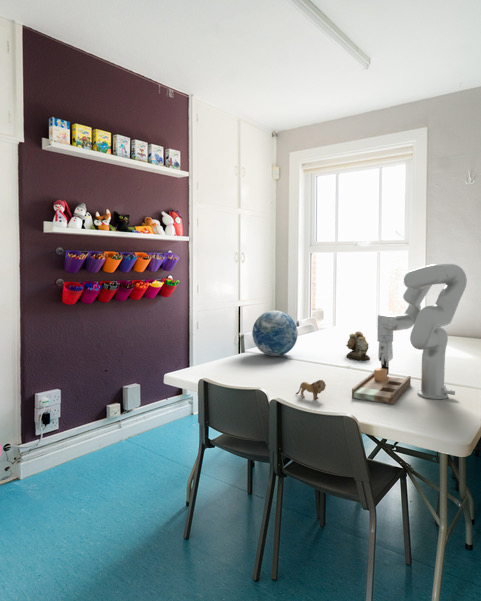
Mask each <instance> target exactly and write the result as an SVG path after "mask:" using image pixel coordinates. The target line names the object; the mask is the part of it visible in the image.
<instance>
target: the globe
mask: <svg viewBox="0 0 481 601" xmlns="http://www.w3.org/2000/svg"><path fill="white" fill-rule="evenodd" d="M298 334H299V332H298V328H297V324H296V322H295V320H294V319H293V318H292V316H290V315H289V314H288V313H287V312H283V311H280V310H268V311H266V312H264V313H262V314H261V315H259V317H258V318H257V319H256V320H255V322H254V324H253V326H252V331H251V335H252V340H253V343H254V344H255V346H256V347H257V349H258V350H259V351H260V352H261V353H263V354H264V355H267V356H271V357H280V356H283V355H286V354H287V353H289V352H290V351H291V350H292V349H293V348H294V347H295V345H296V343H297V339H298Z"/></svg>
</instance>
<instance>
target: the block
mask: <svg viewBox="0 0 481 601" xmlns="http://www.w3.org/2000/svg"><path fill="white" fill-rule="evenodd" d="M373 372H374V380H378V381H386V380H387V377H388V375H387V369H383V368H381V367H376V368H375V369H374V371H373Z"/></svg>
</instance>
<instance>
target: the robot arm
mask: <svg viewBox="0 0 481 601" xmlns="http://www.w3.org/2000/svg"><path fill="white" fill-rule="evenodd" d="M467 281H468V279H467V274H466V272H465V271H464V269H463V268H462V267H461V266H460V265H458V264H456V263H455V264H454V263H436V264H429V265H426V266H422V267H418V268H416V269H412V270H409V271H408V272H406V274H405V275H404V278H403V284H404V286H405V287H406V289H405V291H404V293H403V296H402V298H403V300H404V301H405V302H406V303H407V304H408V306H407V308H406V310H405V311H404V313H402V314H400V313H399V314H394V315H393V314H392V313H380V314H378V315H377V336H376V338H377V342H378V362H380V365H381V366H380V368H383V369H387V376H388V375H389V367H390V366H389V365H390V364H389V363H390V361H392V359H393V358H394V356H393V355H394V352H393V342H394V332H396V331H402V330H408V329H411V328H412V330H411V332H410V337H409V339H410V343H411V346H412V347H413V348H414V349H417V350H422V354H421V376H420V377H421V383H420V384H421V386H420V387H421V389H419V390H418V391H417V395H418V396H419V397H422V398H424V399H428V400H429V399H430V400H445V399H448V397H449V395H450V396H451V395H452V396H455V395H456V390H453V389H452V388H451V389H450V388H447V387H446V385H445V370H446V368H445V365H446V364H445V363H446V351H447V346H448V340H449V339H448V337H449V336H448V332H447V331H446V330H445V329H444V328H443V327H447V326H448V325H451V323H452V321H453V319H454V316H455V313H456V311H457V309H458V306H459V304H460V301H461V298H462V296H463V294H464V292H465V290H466V287H467ZM441 284H443V285H445V286H444V287H443V288H442V289H441V291H440V292H439V294H438V295H437V299H436V302H435V303H434V304H433V305H427V306H425V307H423V308H421V305H422V304H421V303H422V302H423V300H424V298H425V297H426V296H427V294H428V292H429V290H430V289H431V287H432V286H433V285H441Z"/></svg>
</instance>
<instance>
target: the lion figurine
mask: <svg viewBox="0 0 481 601" xmlns="http://www.w3.org/2000/svg"><path fill="white" fill-rule="evenodd" d="M326 386H327V384H326V382H325V380H323V379H319V380H317V381H314V382H313V383H308V382H306V381H303V382H301V383H300V386H299V390H298V391H297V392H295V395H298V394H300V396H301V398H303V399H305V398H306V396H305V395H304V393H305V391H307V392H308V393H312V396H313V397H312V398H313V401H317V400H318V399H319V396H318V395H319V394H321V393H322V392H324V391H325V390H326Z"/></svg>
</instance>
